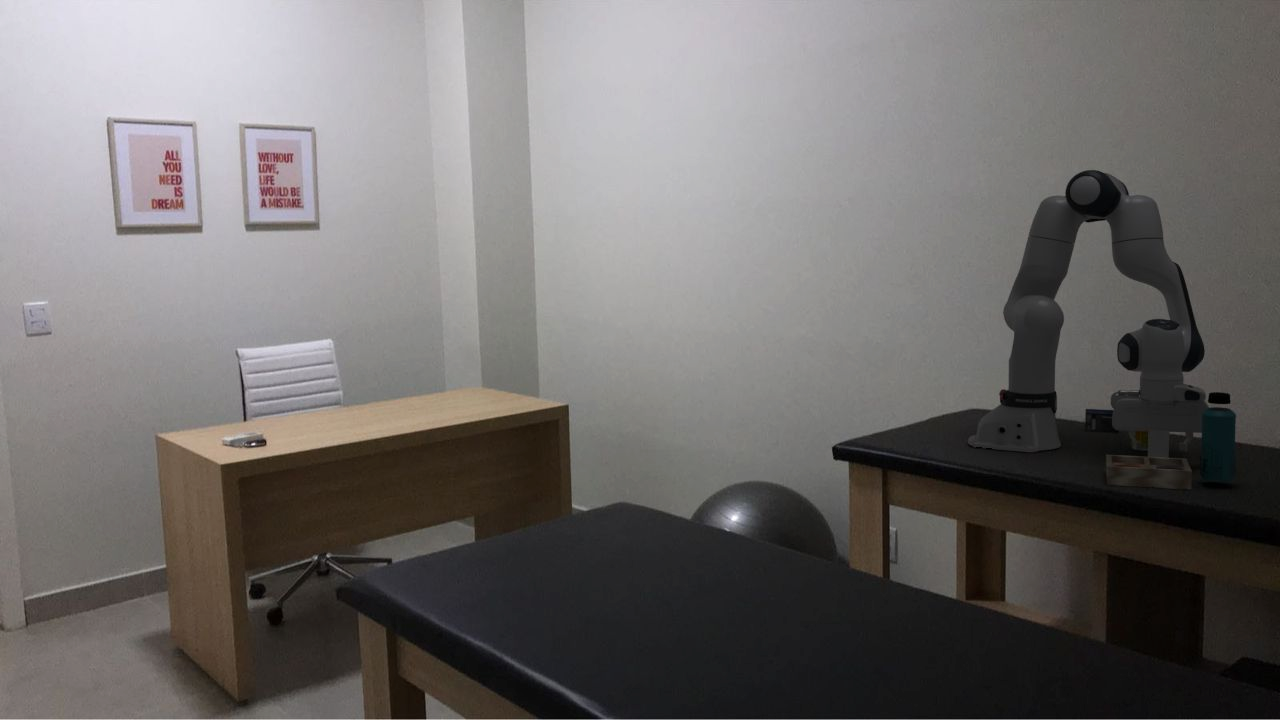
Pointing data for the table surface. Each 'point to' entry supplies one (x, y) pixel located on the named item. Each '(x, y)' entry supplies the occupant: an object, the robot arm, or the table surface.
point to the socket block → (1148, 472)
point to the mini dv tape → (1099, 421)
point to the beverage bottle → (1218, 440)
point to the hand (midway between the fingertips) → (1160, 450)
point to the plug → (1158, 443)
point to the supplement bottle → (1143, 438)
